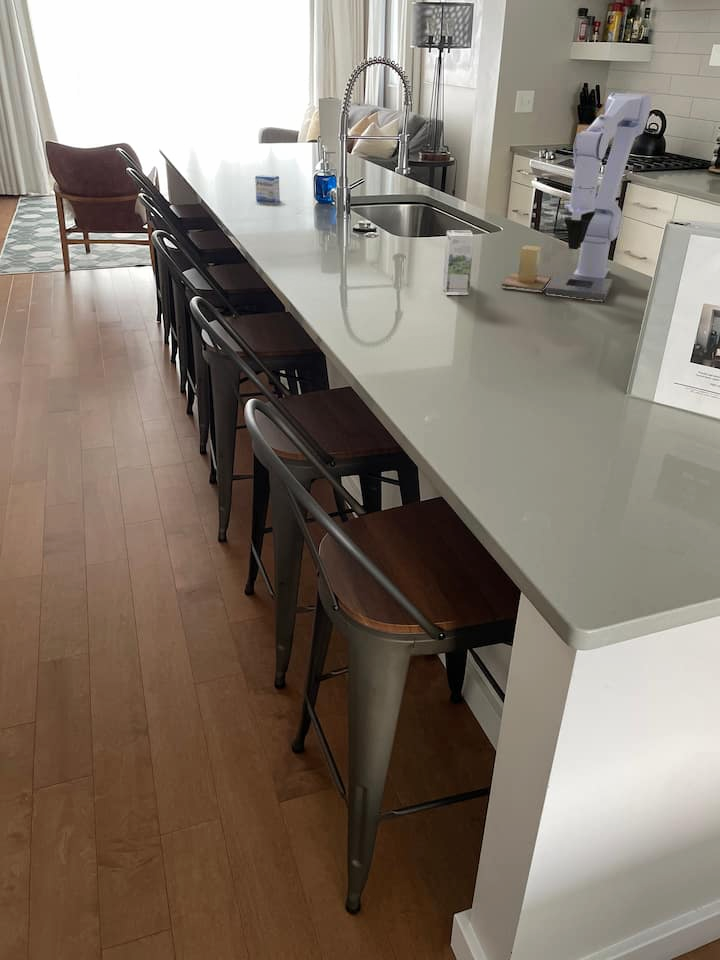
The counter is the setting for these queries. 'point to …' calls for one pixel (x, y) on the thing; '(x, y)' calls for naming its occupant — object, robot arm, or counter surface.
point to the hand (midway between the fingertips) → (575, 245)
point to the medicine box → (267, 188)
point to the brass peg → (529, 264)
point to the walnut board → (537, 285)
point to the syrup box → (458, 260)
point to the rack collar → (579, 286)
